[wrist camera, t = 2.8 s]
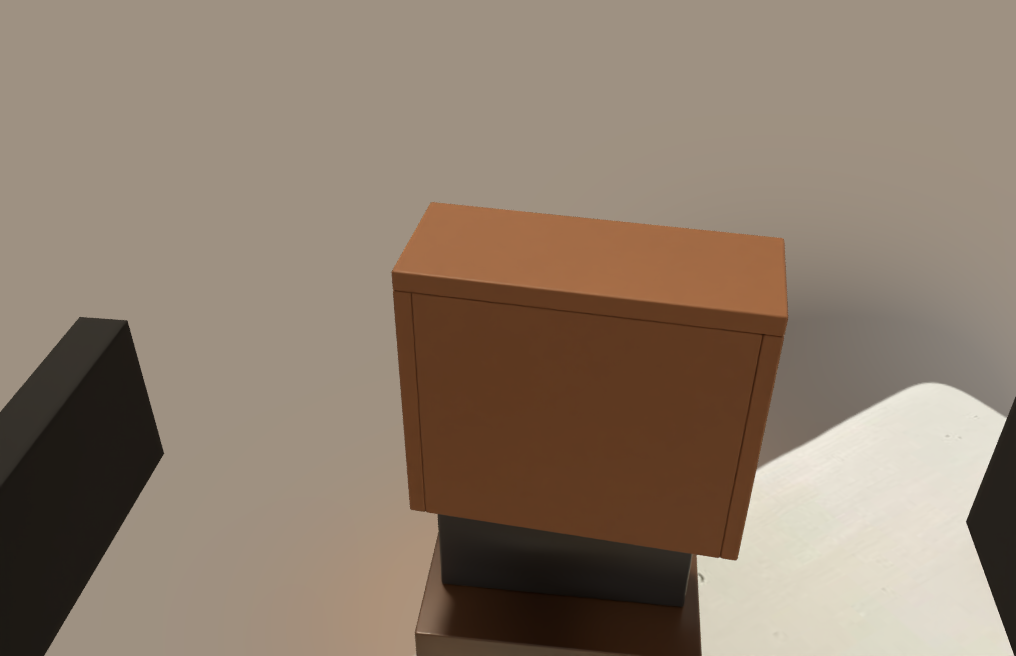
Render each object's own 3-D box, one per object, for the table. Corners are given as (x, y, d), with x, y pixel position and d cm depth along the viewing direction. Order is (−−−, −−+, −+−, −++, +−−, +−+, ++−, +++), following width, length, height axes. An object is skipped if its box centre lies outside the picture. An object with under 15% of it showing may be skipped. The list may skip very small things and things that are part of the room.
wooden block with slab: (432, 853, 39) (388, 323, 24) (456, 717, 44) (432, 206, 28) (659, 881, 38) (763, 350, 23) (658, 740, 43) (743, 225, 28)
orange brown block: (409, 510, 29) (390, 271, 24) (441, 428, 32) (430, 200, 27) (737, 561, 28) (788, 317, 23) (739, 470, 31) (784, 237, 26)
